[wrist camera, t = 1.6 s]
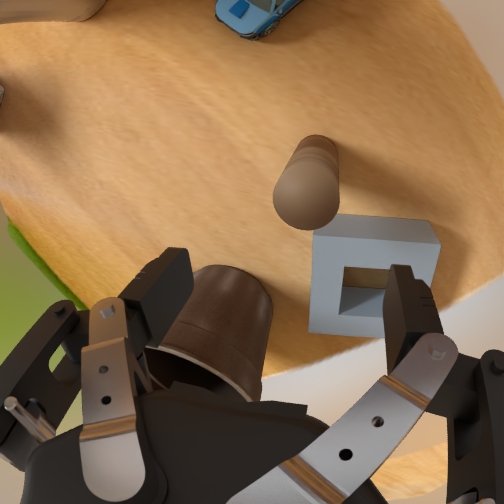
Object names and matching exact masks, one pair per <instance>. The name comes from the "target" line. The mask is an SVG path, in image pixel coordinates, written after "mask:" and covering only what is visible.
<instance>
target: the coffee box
mask: <svg viewBox="0 0 504 504" xmlns="http://www.w3.org/2000/svg"><path fill="white" fill-rule="evenodd" d="M4 90H5V89H4V88H3V87H2V86H1V84H0V105H1V101H2V97H3V94H4Z"/></svg>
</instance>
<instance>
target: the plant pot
mask: <svg viewBox="0 0 504 504" xmlns="http://www.w3.org/2000/svg"><path fill="white" fill-rule="evenodd" d="M193 277H194V289H193V292H192V294H191V296H190V297H189V299H188V301H187V302H186V304H185V305H184V307H183V308H182V310H181V312H180V313H179V315H178V316H177V318H176V319H175V321H174V323H173V324H172V326H171V327H170V329H169V331H168V332H167V334H166V335H165V337H164V339H163V340H162V342H161V343H160V345H159V347H158V348H153V347H149V346H146V347H145V348H144V350H143V351H144V353H145V356H146V361H147V366H148V370H149V375H150V379H151V383H152V388H153V391H157V390H166V389H170V387H171V385H172V384H173V382H174V381H177V382H181V383H185V384H189V385H194V386H198V387H202V388H205V389H207V390H209V391H211V392H213V393H215V394H218V395H220V396H222V397H224V398H226V399H228V400H231V401H233V402H256V401H260V399H261V393H262V382H261V377H262V371H263V365H264V359H265V353H266V348H267V342H268V337H269V331H270V326H271V321H272V315H273V305H272V301H271V298H270V296H269V295H267V294H266V292H265V291H264V289H263V287H262V285H261V283H260V282H259V281H257V280H256V279H255V278H254V277H252V276H251V275H249V274H248V273H246V272H243V271H241V270H239V269H236V268H233V267H229V266H224V265H210V266H206V267H204V268H202V269H200V270H198V271H196V272H194V273H193Z"/></svg>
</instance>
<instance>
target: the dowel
mask: <svg viewBox="0 0 504 504" xmlns="http://www.w3.org/2000/svg"><path fill="white" fill-rule="evenodd" d="M273 203H274V207H275V210H276V212H277V213H278V215H279V216H280V218H281V219H282V220H283V221H284V222H286V223H287V224H288V225H290V226H292V227H294V228H297V229H300V230H316V229H319V228H322V227H324V226H326V225H327V224H328V223H330V222H331V221H332V220H333V218H334V217H335V215H336V214H337V211H338V209H339V203H340V197H339V169H338V152H337V149H336V146H335V145H334V143H333V142H332V141H331V140H330V139H328V138H327V137H325V136H322V135H310V136H308V137H306V138H304V139H303V140H302V141H301V142H300V143H299V145H298V146H297V148H296V150H295V152H294V153H293V155H292V157H291V159H290V161H289V162H288V164H287V166H286V168H285V169H284V171H283V173H282V175H281V176H280V178H279V180H278V182H277V184H276V186H275V188H274V192H273Z"/></svg>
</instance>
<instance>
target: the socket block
mask: <svg viewBox="0 0 504 504" xmlns="http://www.w3.org/2000/svg"><path fill="white" fill-rule="evenodd" d="M440 249H441V243H440V241H439V239H438V237H437V235H436V233H435V232H434V230H433V228H432V226H431V224H430V223H429V221H425V220H414V219H402V218H390V217H377V216H364V215H349V214H336V215H335V217H334V218H333V220H332V221H331V222H330V223H328V224H327V225H326V226H324V227H322V228H319V229H316V230H314V232H313V253H312V278H311V298H310V315H309V330H308V333H317V334H329V335H342V336H357V337H374V338H385V333H384V323H383V313H382V307H383V298H384V293H385V289H376V288H361V287H346V286H342V281H343V273H344V266H346V267H361V268H375V269H390V266H391V264H400V265H410V266H411V268H412V271H413V274H414V277H415V279H422V280H423V281H424V282H425V283H426V284H427V285H428V286H429V287H430V286H431V282H432V279H433V275H434V272H435V268H436V264H437V261H438V257H439V253H440Z"/></svg>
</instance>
